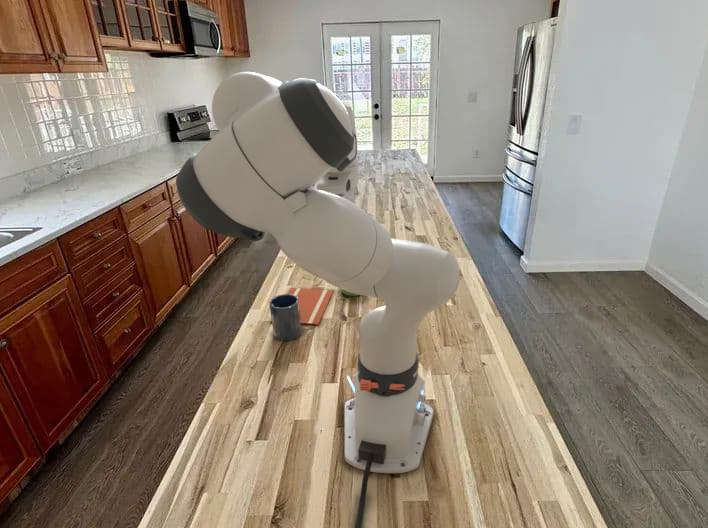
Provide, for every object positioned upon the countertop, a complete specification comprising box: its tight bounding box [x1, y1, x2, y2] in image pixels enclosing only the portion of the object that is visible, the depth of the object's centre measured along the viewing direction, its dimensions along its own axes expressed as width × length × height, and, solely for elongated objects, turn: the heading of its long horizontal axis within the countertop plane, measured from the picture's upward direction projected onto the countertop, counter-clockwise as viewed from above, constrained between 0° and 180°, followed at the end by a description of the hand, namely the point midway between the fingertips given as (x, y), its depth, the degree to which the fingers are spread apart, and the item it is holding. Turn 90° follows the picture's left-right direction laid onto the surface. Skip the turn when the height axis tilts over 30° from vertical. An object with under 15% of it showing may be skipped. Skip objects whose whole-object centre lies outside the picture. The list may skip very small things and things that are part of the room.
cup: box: [268, 293, 303, 342], centre depth 117 cm, size 8×8×10 cm
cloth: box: [270, 287, 334, 326], centre depth 132 cm, size 20×14×1 cm
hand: (342, 233), depth 106 cm, fingers closed
